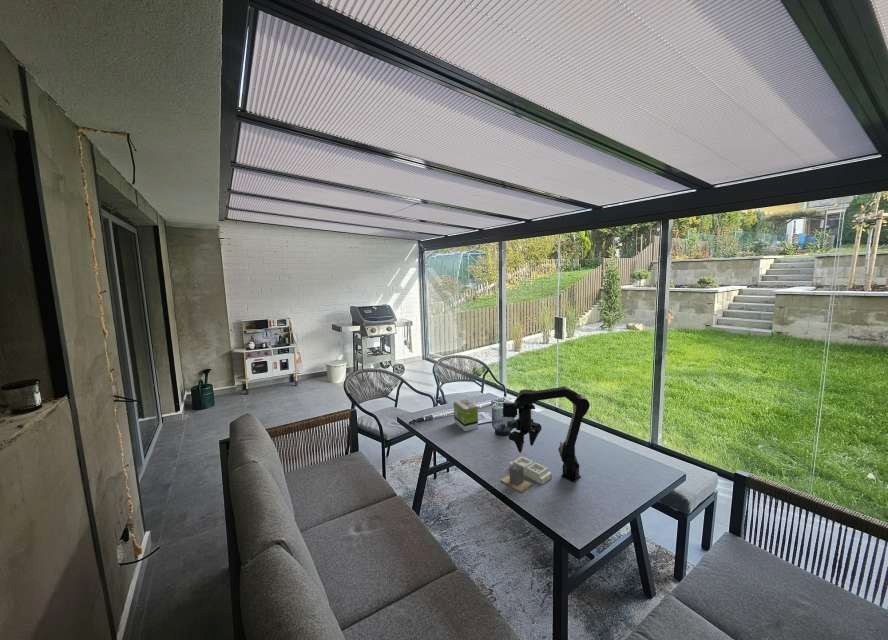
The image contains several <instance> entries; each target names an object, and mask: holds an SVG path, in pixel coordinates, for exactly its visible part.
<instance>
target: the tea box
mask: <svg viewBox="0 0 888 640" xmlns="http://www.w3.org/2000/svg"><path fill="white" fill-rule="evenodd" d="M478 408H479V407H478V406H477V405H476V404H474V403H473V402H471V401H469V400H468V399H462V400H458V401H454V402H453V416H454V417H453V418H454V422H453V423H454V424H455V425H456V426H458V427H459V428H460V429H461V430H463V431H464V432H469V431H473V430H477V429H479V416H478V415H479V413H478V410H479V409H478Z"/></svg>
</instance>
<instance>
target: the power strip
mask: <svg viewBox="0 0 888 640" xmlns="http://www.w3.org/2000/svg"><path fill="white" fill-rule="evenodd" d="M514 464H517V465H519V466H521V467H523V476H525V477H527V478H529V479H531V480H533V481H534V482H537V483H539V484H541V485H544V484H546V482H548V481H549V480H551V479H552V478H553V473H552V472H551V471H549V468H548V467H547V466H544V465H542V464H540V463H537V462H535V461H533V460H531V459H529V458H527V457H524V456H522V455H521V456H519V457H515V458H513V459H512V461H510V462H509V467H511V466H512V465H514Z"/></svg>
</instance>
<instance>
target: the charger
mask: <svg viewBox="0 0 888 640" xmlns="http://www.w3.org/2000/svg"><path fill="white" fill-rule="evenodd" d="M509 474H510V482H511V483H513V484H515V485H517V486H518V485H519V484H521V483H522V482H523V479H524V475H523V467H521V466H519V465H517V464H514V465H512V466H511V467H510V466H509Z"/></svg>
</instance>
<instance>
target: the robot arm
mask: <svg viewBox="0 0 888 640" xmlns="http://www.w3.org/2000/svg"><path fill="white" fill-rule="evenodd" d="M559 398H560V399H561V398H565V399H567V400H568V401H569V402H571V403H572V416H571V420H570V423H569V427H568V430H567V432H566V433H567V434H566V437H565V440H564V442H563V441H562V442H561V441H560V442H559V447H558V448H557V449H558V452H559V457H560V458H561V461H562V463H563V464H562V474H561V477H562V478H564V479H566V480H568V481H571V482H574V483H575V482H576V481H577V480H579V479H580V478H582V476H581V474H580V463H579V461H578V458H577V456H576V443H577V439H578V435H579V432H580V428H581V425H582V422H583V418H584V417H585V416H586V415H587V413H588V411H589V409H590V405H591V404H590V402H589V400H588V399H587V397H586V396H585V395H584V394H581V393H580V394H579V393H577V391H574V390H572V389H571V388H569V387H568V386H565V385H563V386H561V387H560V386H559V387H553V388H545V389H540V390H534V389H521V390H520V391H518V393H517V397H516V398H515V400H514V402H502V418H516V417H517V416H518V418H517V419H513V420H509V421H506V422H507V423H506V424H507V425H506V427H507V429H510V430H513V429H514V431H511V432H510V433H509V434H508V439H509V441H510V440H511V441H512V442H514V444H515V446H516V449H517V450H518V452H519V454H521V453H522V450H523V447H524V444H525V440H524V439H525V436H526V435H528V437H529V445H530V446H531V447H533V446H534V444H535V442H536V440H537V438H538V436H539V434H540V433H541V431H542V429H543V428H542V425H541V423H538V422H535V421H534V419H533V418H532V410H536V406H535V404H534V403H536V402H539V401H545V400H553V399H559ZM515 430H516V431H515Z"/></svg>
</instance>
